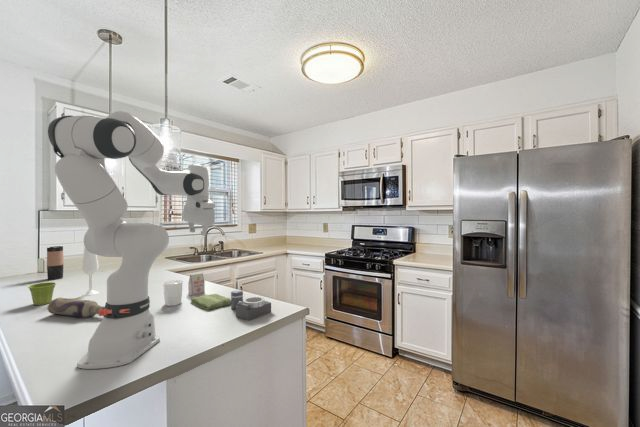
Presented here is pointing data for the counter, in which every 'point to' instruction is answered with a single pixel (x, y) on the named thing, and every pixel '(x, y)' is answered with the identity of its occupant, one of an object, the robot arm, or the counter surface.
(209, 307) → the washcloth
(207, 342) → the counter surface
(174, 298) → the white cup
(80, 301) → the decorative bottle
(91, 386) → the counter surface
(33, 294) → the plant pot
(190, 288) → the white food carton
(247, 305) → the camera body
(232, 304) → the lens
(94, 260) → the champagne flute
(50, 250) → the travel mug
